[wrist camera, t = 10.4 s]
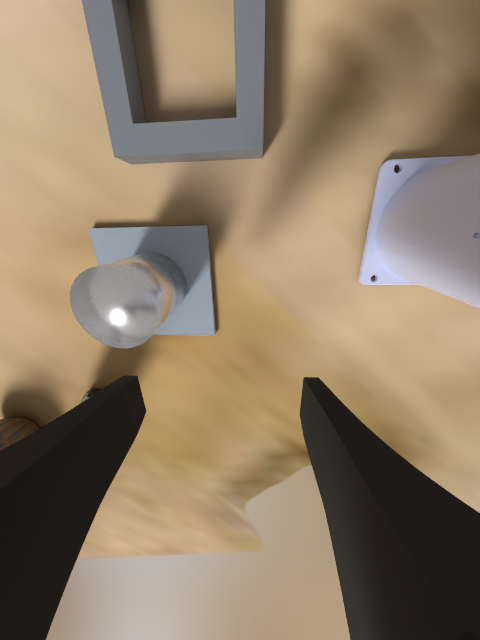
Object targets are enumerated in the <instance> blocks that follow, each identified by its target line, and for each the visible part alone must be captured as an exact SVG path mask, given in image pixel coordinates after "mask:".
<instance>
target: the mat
mask: <svg viewBox="0 0 480 640" xmlns="http://www.w3.org/2000/svg"><path fill="white" fill-rule="evenodd" d="M88 229H89V233H90V236H91V240H92V244H93V247H94V251H95V254H96V258H97V262H98V265H99V266H100V265H104V264H107V263H110V262H114V261H117V260H121V259H124V258H128V257H131V256H135V255H138V254H142V253H146V252H157V253H161V254H164V255H166V256H168V257H169V258H171V259H172V260H173V261H174V262H176V263H177V265H178V266H179V267H180V268H181V270H182V272H183V274H184V276H185V280H186V294H185V297H184V299H183V301H182V303H181V304H180V305H179V306H178V307H177V308H176V309H175V310H174V312H173V313H172V314H171V315H170V316H169V317H168V318H167V319H166V320H165V321H164V323H163V324H162V325H161V326H160V327H159V328H158V329H157V330H156V331H155V332H154V334H153V335H215V334H216V327H215V314H214V301H213V288H212V276H211V263H210V250H209V237H208V225H197V226H159V227H121V228H88Z"/></svg>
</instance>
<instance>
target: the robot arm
mask: <svg viewBox="0 0 480 640" xmlns="http://www.w3.org/2000/svg"><path fill="white" fill-rule="evenodd" d="M395 165H398V166H399V171H398V172H397V173H395V172H394V167H395ZM373 275H375V279H374V280H372V281H371V277H372V276H373ZM359 282H360V283H362V284H363V285H421V286H424V287H426V288H429V289H431V290H434V291H436V292H439V293H442V294H444V295H447V296H449V297H452V298H454V299H457V300H459V301H462V302H464V303H467V304H469V305H472V306H474V307H477V308H480V153H479V154H476V155H473V156H454V157H432V158H409V159H391V160H388V161H385V162H384V163H383V164H382V165H381V166H380V169H379V173H378V178H377V183H376V189H375V194H374V199H373V204H372V210H371V215H370V220H369V225H368V231H367V236H366V241H365V246H364V252H363V257H362V262H361V267H360V273H359ZM145 413H146V408H145V404H144V401H143V397H142V393H141V389H140V385H139V381H138V377H137V376H123V377H121V378H119V379H117V380H116V381H114V382H113V383H111V384H109V385H108V386H106V387H105V388H103V389H102V390H100V391H99V392H97V393H96V394H94V395H93V396H91V397H90V398H88V399H87V400H85V401H84V402H82V403H80V404H79V405H77V406H76V407H74V408H73V409H71V410H70V411H68V412H66V413H65V414H63V415H61V416H60V417H58V418H57V419H55V420H53V421H52V422H50V423H48V424H47V425H45V426H44V427H42V428H40V429H39V430H37V431H35V432H33V433H32V434H30V435H28V436H26V437H25V438H23V439H21V440H19V441H17V442H15V443H14V444H12V445H10V446H8V447H6V448H4V449H3V450H1V451H0V640H46V637H47V634H48V632H49V629H50V626H51V623H52V621H53V618H54V615H55V613H56V610H57V608H58V605H59V602H60V600H61V597H62V595H63V592H64V590H65V587H66V584H67V582H68V579H69V577H70V574H71V572H72V569H73V567H74V564H75V562H76V560H77V557H78V555H79V552H80V550H81V547H82V545H83V543H84V540H85V538H86V535H87V533H88V531H89V529H90V526H91V524H92V522H93V520H94V517H95V515H96V513H97V510H98V508H99V506H100V504H101V502H102V500H103V498H104V496H105V494H106V492H107V490H108V488H109V486H110V484H111V483H112V481H113V479H114V477H115V475H116V473H117V471H118V470H119V468H120V466H121V464H122V462H123V460H124V459H125V457H126V455H127V453H128V451H129V449H130V447H131V445H132V444H133V442H134V440H135V438H136V436H137V434H138V431H139V429H140V427H141V424H142V421H143V419H144V416H145ZM300 418H301V424H302V430H303V435H304V440H305V443H306V447H307V450H308V454H309V457H310V460H311V464H312V467H313V470H314V474H315V477H316V480H317V484H318V487H319V491H320V494H321V497H322V501H323V505H324V509H325V513H326V517H327V522H328V527H329V531H330V536H331V541H332V546H333V550H334V555H335V560H336V565H337V570H338V575H339V580H340V586H341V591H342V595H343V601H344V606H345V612H346V617H347V623H348V628H349V633H350V639H351V640H480V513H479V512H477V511H476V510H474V509H473V508H471V507H470V506H468V505H467V504H465V503H464V502H462V501H461V500H459V499H458V498H457V497H455V496H454V495H452V494H451V493H450V492H448V491H447V490H445V489H444V488H443V487H441V486H440V485H438V484H437V483H436V482H434V481H433V480H431V479H430V478H429V477H427V476H426V475H425V474H423V473H422V472H421V471H419V470H418V469H417V468H415V467H414V466H413V465H411V464H410V463H409V462H408V461H406V460H405V459H404V458H403V457H401V456H400V455H399V454H398V453H396V452H395V451H394V450H393V449H392V448H390V447H389V446H388V445H387V444H386V443H384V442H383V441H382V440H381V439H380V438H379V437H378V436H376V435H375V434H374V433H373V432H372V431H371V430H370V429H369V428H368V427H366V426H365V425H364V424H363V423H362V422H361V421H360V420H359V419H358V418H357V417H356V416H355V415H354V414H353V413H352V412H351V411H350V410H349V409H348V408H347V407H346V406H345V405H344V404H343V403H342V402H341V401H340V400H339V399H338V398H337V397H336V396H335V395H334V394H333V392H332V391H331V390H330V389H329V388H328V387H327V386H326V385H325V384H324V383H323V382H322V381H321V380H320V379H319V378H311V377H304V380H303V389H302V398H301V408H300Z"/></svg>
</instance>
